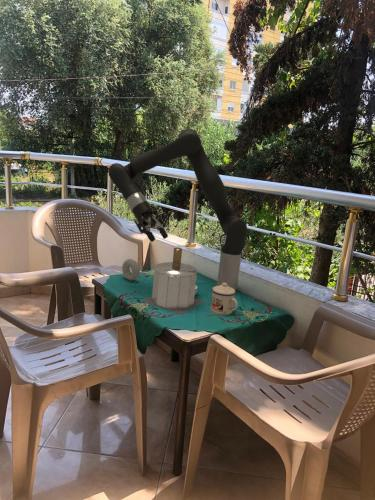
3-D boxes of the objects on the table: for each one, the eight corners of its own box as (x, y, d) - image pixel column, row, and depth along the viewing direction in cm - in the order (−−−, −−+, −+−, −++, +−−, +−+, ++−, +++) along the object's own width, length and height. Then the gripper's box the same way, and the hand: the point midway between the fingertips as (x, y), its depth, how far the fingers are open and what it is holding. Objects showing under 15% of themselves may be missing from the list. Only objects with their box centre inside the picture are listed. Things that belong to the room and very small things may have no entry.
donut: (119, 277, 187) (121, 256, 184) (125, 276, 189) (127, 255, 187) (134, 284, 181) (135, 262, 178) (140, 282, 183) (141, 261, 181)
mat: (166, 291, 176) (166, 289, 176) (204, 303, 167) (204, 301, 167) (140, 302, 161) (140, 300, 161) (180, 316, 152) (180, 314, 152)
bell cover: (167, 290, 175) (172, 241, 169) (201, 301, 167) (207, 249, 161) (143, 301, 161) (147, 247, 156) (178, 313, 153) (184, 257, 147)
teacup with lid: (204, 309, 160) (208, 281, 157) (220, 305, 166) (224, 278, 163) (227, 320, 152) (230, 291, 149) (243, 316, 158) (247, 287, 155)
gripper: (133, 201, 157) (155, 236, 155) (155, 199, 169) (176, 231, 166) (122, 212, 161) (143, 247, 158) (144, 210, 173) (164, 241, 170)
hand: (160, 239), depth 162 cm, fingers open, 8 cm apart
